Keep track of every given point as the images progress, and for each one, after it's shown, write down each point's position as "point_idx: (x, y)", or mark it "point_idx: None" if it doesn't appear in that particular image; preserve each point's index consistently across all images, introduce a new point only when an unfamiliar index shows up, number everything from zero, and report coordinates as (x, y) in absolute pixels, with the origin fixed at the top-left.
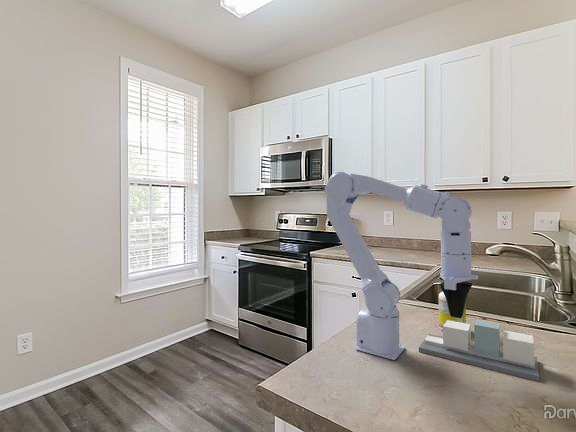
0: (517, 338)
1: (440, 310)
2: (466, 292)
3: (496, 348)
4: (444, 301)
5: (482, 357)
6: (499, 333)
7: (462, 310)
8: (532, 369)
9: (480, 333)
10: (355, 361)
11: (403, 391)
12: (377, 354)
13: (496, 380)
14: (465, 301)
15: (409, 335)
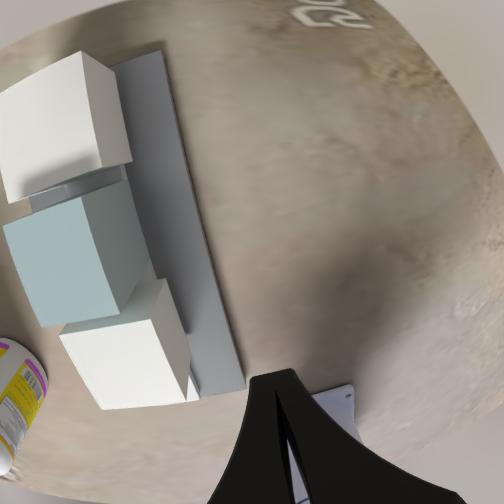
0: (61, 120)
1: (25, 434)
2: (448, 490)
3: (120, 191)
4: (11, 452)
5: (149, 228)
6: (52, 205)
7: (312, 398)
8: (118, 78)
9: (120, 269)
10: (399, 413)
11: (461, 293)
12: (353, 415)
13: (260, 146)
14: (247, 452)
15: (158, 432)
